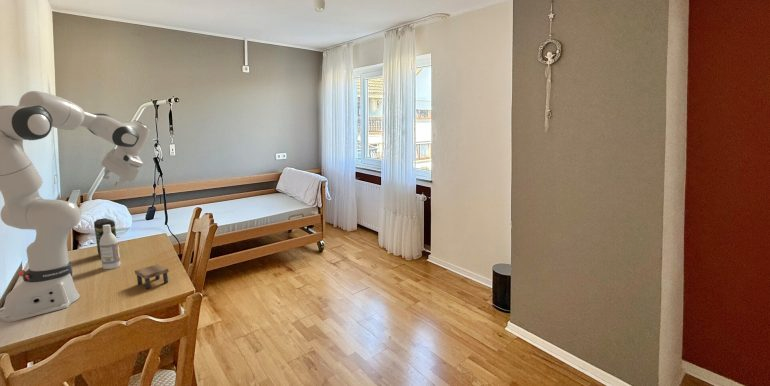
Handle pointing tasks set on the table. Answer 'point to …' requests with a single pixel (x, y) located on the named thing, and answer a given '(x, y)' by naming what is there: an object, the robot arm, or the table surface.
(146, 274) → the brown miniature table
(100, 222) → the coffee jar
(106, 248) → the bath foam
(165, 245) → the table surface
